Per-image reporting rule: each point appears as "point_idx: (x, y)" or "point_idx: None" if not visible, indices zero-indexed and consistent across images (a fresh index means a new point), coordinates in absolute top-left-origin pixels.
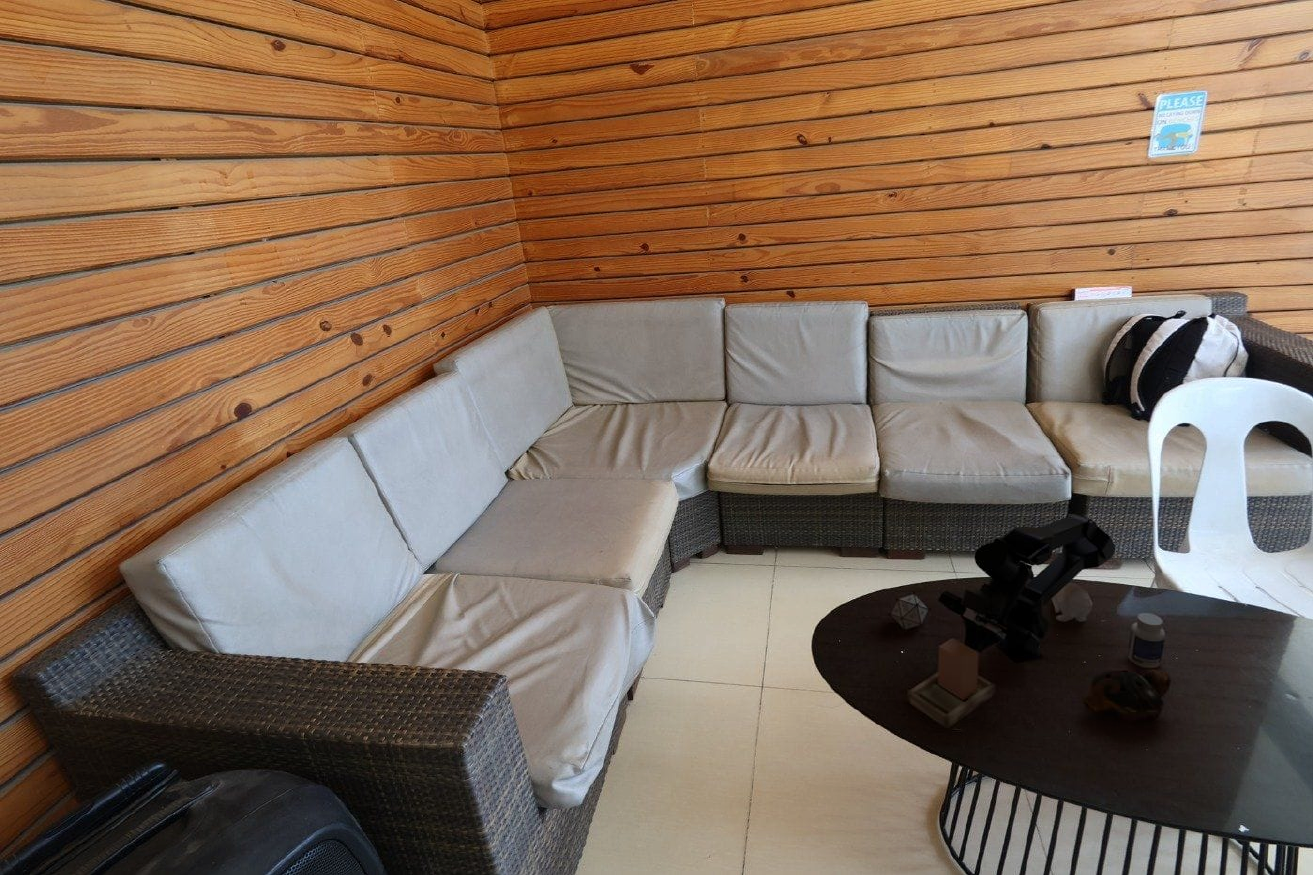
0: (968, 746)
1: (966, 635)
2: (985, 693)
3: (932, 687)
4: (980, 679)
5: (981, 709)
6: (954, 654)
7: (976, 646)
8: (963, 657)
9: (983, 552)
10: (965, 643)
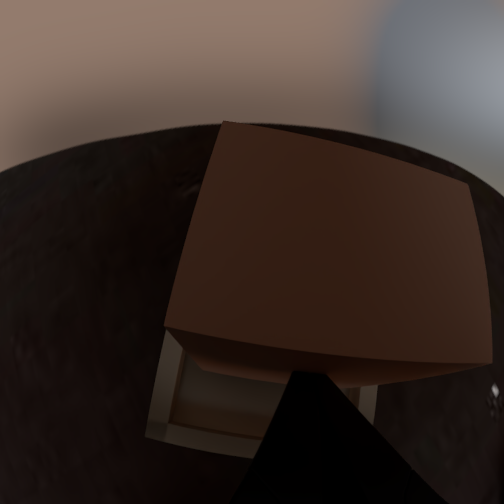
0: (144, 157)
1: (430, 499)
2: (159, 364)
3: None
4: (215, 436)
5: (161, 319)
6: (341, 152)
7: (258, 461)
8: (259, 151)
9: None
10: (380, 442)
